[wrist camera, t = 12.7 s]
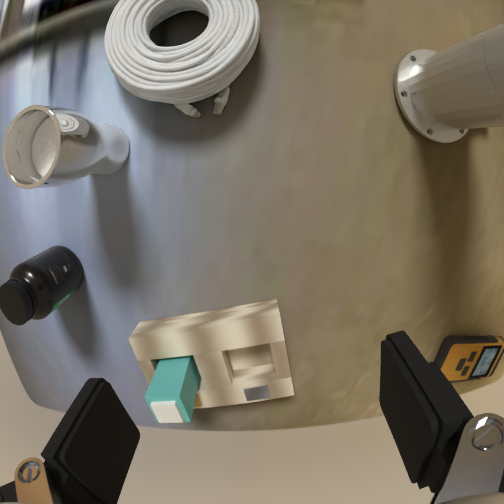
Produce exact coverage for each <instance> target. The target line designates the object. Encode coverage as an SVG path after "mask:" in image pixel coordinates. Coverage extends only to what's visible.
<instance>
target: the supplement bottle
mask: <svg viewBox="0 0 504 504" xmlns="http://www.w3.org/2000/svg"><path fill="white" fill-rule="evenodd" d="M82 278H83V272H82V267H81V264H80V261H79V260H78V258H77V256H76V255H75V254H74V253H73V252H72V251H71V250H70V249H68V248H66V247H63V246H54V247H51V248H49V249H47V250H45V251H43V252H41V253H40V254H38V255H36V256H34V257H32V258H30V259H28V260H26V261H24V262H23V263H21V264H19V265H17V266H16V267H15V268H14V269H13V271H12V272H11V275H10V278H9V280H8V281H7V282H6V283H4V284H3V285H1V286H0V309H1V311H2V313H3V314H4V315H5V317H6V318H7V319H8V320H9V321H10V322H12V323H13V324H15V325H23V324H25V323H26V322H27V321H29V320H30V319H36V320H39V319H43V318H45V317H47V316H48V315H49V314H50V313H51V312H53V311H54V310H55V309H56V308H57V307H58V306H59V305H61V304H62V303H63V302H64V301H65V300H66V299H68V298H69V297H70V296H71V295H72V294H73V293H75V292H76V291H77V290H78V288H79V287H80V285H81V283H82Z"/></svg>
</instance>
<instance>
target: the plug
mask: <svg viewBox="0 0 504 504" xmlns="http://www.w3.org/2000/svg"><path fill="white" fill-rule="evenodd" d="M199 379H200V373H199V370H198V367H197V364H196V362H195V359H194V356H193V355H188V356H180V357H171V358H162V359H160V360H159V363H158V365H157V368H156V370H155V373H154V375H153V378H152V380H151V383H150V385H149V388H148V390H147V393H146V395H145V400H146V402H147V404H148V406H149V408H150V410H151V412H152V413H153V415H154V417H155V419H156V421H157V423H179V422H191V419H192V414H193V409H194V404H195V399H196V394H197V389H198V384H199Z"/></svg>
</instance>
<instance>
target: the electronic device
mask: <svg viewBox="0 0 504 504" xmlns="http://www.w3.org/2000/svg"><path fill="white" fill-rule="evenodd" d="M503 353H504V339H503V338H502V337H494V336H448V337H446V338H445V339H444V341H443V343H442V345H441V347H440V349H439V352H438V354H437V356H436V358H435V360H434V363H436V364H437V365H438V367H439V368H440V369H441V371H442V372H443V373H444V375H445V376H446V378H447V379H448V380H449V382H457V381H465V380H473V379H480V378H481V377H489V376H491V375H492V374H493V373H494V371H495V369H496V367H497V365H498V363H499V361H500V359H501V357H502V355H503Z"/></svg>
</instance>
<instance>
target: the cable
mask: <svg viewBox="0 0 504 504" xmlns="http://www.w3.org/2000/svg"><path fill="white" fill-rule="evenodd" d="M187 10H195V11H199V12H201V13H204V14H205V15H206V16H208V17H209V23H208V26H207V28H206V29H205V31H204V32H203V33H202V34H201V35H200V36H199V37H197V38H196V39H194V40H192V41H190V42H188V43H185V44H182V45H178V46H173V47H161V46H157V45H155V44H154V43H153V42H152V41H151V40H150V38H149V35H150V31H151V30H152V29H153V28H154V27H155V26H156V25H158V24H159V23H160V22H162V21H164V20H165V19H167V18H169V17H170V16H172V15H175V14H177V13H179V12H183V11H187ZM259 29H260V18H259V9H258V6H257V3H256V1H255V0H120V1H119V2H118V4H117V5H116V7H115V9H114V10H113V13H112V14H111V16H110V18H109V21H108V24H107V27H106V31H105V53H106V58H107V61H108V63H109V66H110V68H111V70H112V72H113V73H114V75H115V77H116V78H117V80H118V81H119V83H120V84H121V85H122V86H123V87H124V88H125V89H126V90H127V91H129V92H130V93H132V94H134V95H135V96H137V97H140V98H142V99H145V100H150V101H156V102H164V103H171V104H175V107H176V108H178V109H179V110H181V111H182V112H183V113H185V114H187V115H189V116H191V117H198V118H199V117H200V115H201V113H200V112H199V111H198V110H197V109H196V108H195V107H194V106H192V105H190V104H189V103H192V102H196V101H200V100H203V99H205V98H208V97H210V96H212V95H214V94H216V93H218V92H219V93H218V96H217V97H216V98H215V99H214V101H215V103H214V107H213V111H212V112H213V114H216V115H218V114H221V113H222V110H223V108H224V106H225V105H226V103H227V100H228V96H229V92H230V89H229V85H230V83H231V82H232V81H234V80H235V79H236V78H237V76H238V75H239V74H240V73H241V72H242V70H243V69H244V68H245V66H246V65H247V64H248V62H249V61H250V59H251V58H252V56H253V54H254V51H255V49H256V46H257V43H258V38H259Z"/></svg>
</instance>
